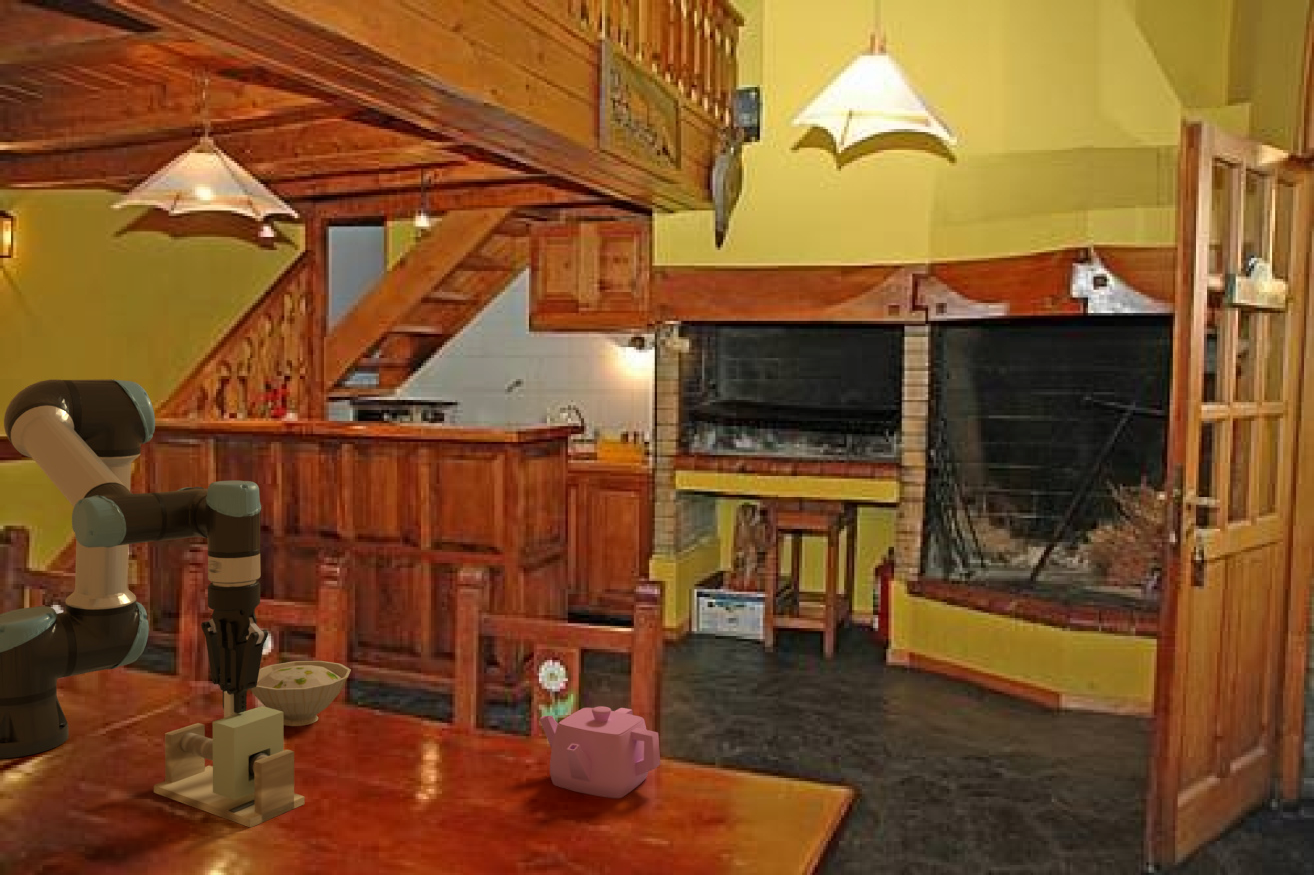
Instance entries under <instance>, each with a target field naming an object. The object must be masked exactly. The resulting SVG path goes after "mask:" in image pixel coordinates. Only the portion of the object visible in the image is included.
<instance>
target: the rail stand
mask: <svg viewBox="0 0 1314 875" xmlns="http://www.w3.org/2000/svg"><path fill="white" fill-rule="evenodd" d="M205 726H206V725H205V724H203V723H201V722H200V723H199V722H197V723H193V724H191V725H187V726H183V727H180V728H177V729H174V730H171V731H168V732H166V733H164V757H165V758H164V759H165V760H164V769H165V770H164V772H165V773H164V774H165V777H164V780H165V781H161V782H159V783H156V784H154V785H153V793H155V794H157V795H159V796H162V797H165V798H168V799H170V800H173V801H176V802H179V803H180V804H181V803H182V804H185V805H187V806H190V807H192V808H195V809H198V810H201V811H204V812H206V813H209V814H212V815H215V816H217V817H220V818H223V819H226V820H228V821H231V822H234V823H236V824H239V825H242V826H245V827H248V828H253V827H255V826H257V825H260V824H262V823H264V822H267V821H269V820H271V819H273V818H276V817H278V816H280V815H283V814H286V813H287V812H289V811H293V810H294V809H296V808H299V807H301V806H304V805H305V796H303V795H301V794H298V793H295V751H293V750H291V749H283V751H281V752H279V753H276V754H273V755H270V756H268V755H267V754H264V753H261V752H257V753H255V754H252V755H249V756H248V772H249V774H251V775H254V792H253V793H251V794H248V795H246V796H243V797H241V798H238V799H236V800H233V799H230V798H227V797H224V796H221V795H218V794H216V793H213V765H207V766H206V765H205V764H206V760H209V761H212V762H213V738H211V737H207V736H205V734H206V732H205V729H206V727H205Z"/></svg>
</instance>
